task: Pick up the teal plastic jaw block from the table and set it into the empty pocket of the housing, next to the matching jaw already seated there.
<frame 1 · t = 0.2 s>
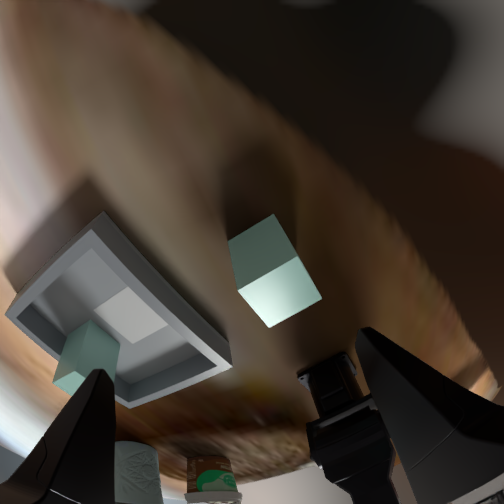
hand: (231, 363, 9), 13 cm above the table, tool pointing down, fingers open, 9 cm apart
grey green cylinder: (134, 448, 40), on the table
housing: (116, 322, 24), on the table
jaw block: (263, 246, 23), on the table
food container: (216, 458, 46), on the table
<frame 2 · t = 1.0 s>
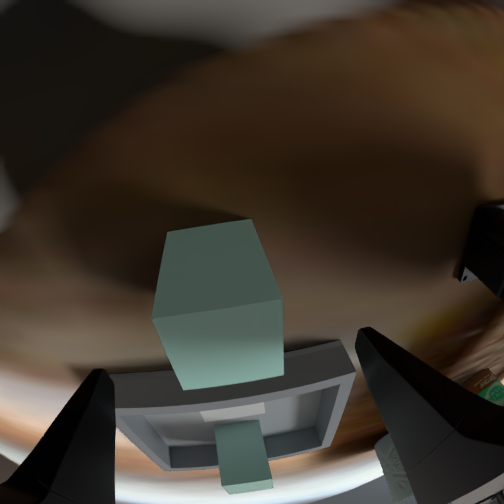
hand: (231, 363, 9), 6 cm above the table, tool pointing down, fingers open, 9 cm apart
grey green cylinder: (396, 434, 37), on the table
housing: (233, 411, 22), on the table
jaw block: (215, 260, 15), on the table
food container: (473, 378, 34), on the table
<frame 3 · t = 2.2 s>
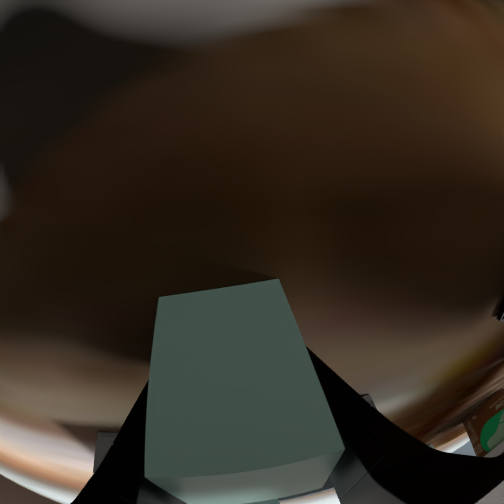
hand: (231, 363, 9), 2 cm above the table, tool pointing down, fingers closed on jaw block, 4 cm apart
housing: (243, 461, 18), on the table
jaw block: (226, 331, 11), on the table, touching gripper
food container: (488, 399, 29), on the table
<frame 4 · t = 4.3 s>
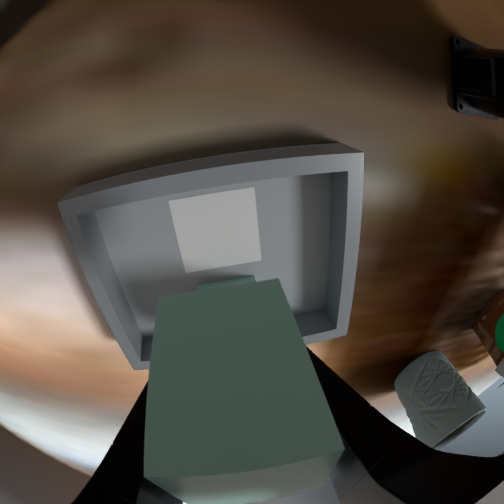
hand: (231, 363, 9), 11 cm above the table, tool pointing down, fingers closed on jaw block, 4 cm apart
grey green cylinder: (418, 370, 35), on the table
housing: (222, 258, 20), on the table
jaw block: (226, 330, 10), point 10 cm above the table, touching gripper
food container: (496, 300, 31), on the table
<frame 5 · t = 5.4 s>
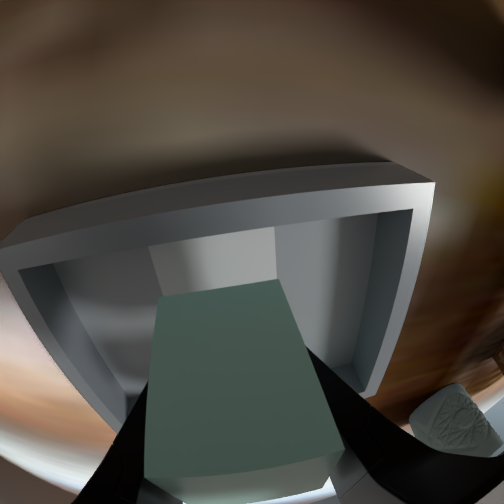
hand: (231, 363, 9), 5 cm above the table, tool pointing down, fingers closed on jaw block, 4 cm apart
grey green cylinder: (434, 402, 29), on the table
housing: (225, 315, 15), on the table
jaw block: (226, 331, 10), point 3 cm above the table, touching gripper
when the fingers open (3 cm above the table, at t = 6.4 s): jaw block drops 1 cm, resting on housing.
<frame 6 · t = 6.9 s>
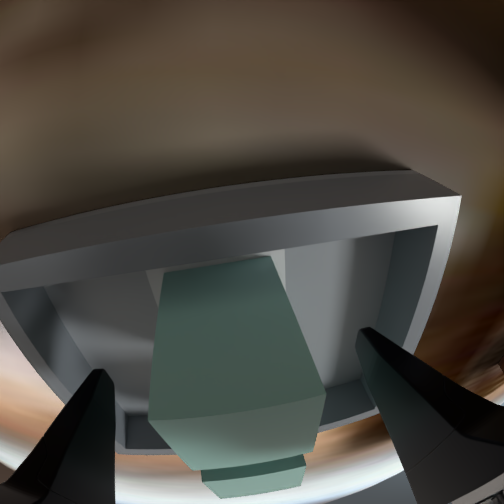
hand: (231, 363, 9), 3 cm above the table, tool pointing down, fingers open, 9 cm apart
housing: (229, 335, 13), on the table
jaw block: (224, 305, 12), point 1 cm above the table, touching housing
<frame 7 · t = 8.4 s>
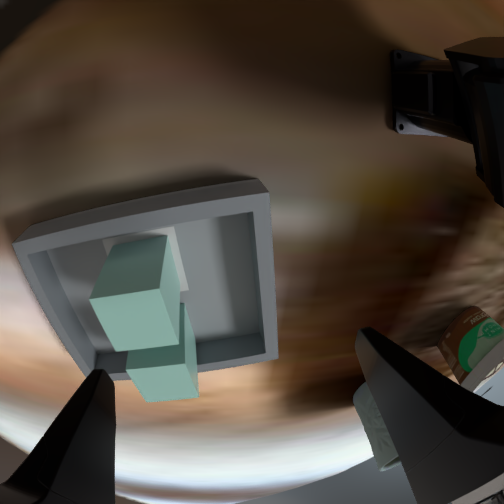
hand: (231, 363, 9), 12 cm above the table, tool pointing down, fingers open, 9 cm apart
grey green cylinder: (379, 386, 36), on the table
housing: (154, 287, 21), on the table
jaw block: (146, 265, 20), point 1 cm above the table, touching housing
food container: (462, 317, 33), on the table
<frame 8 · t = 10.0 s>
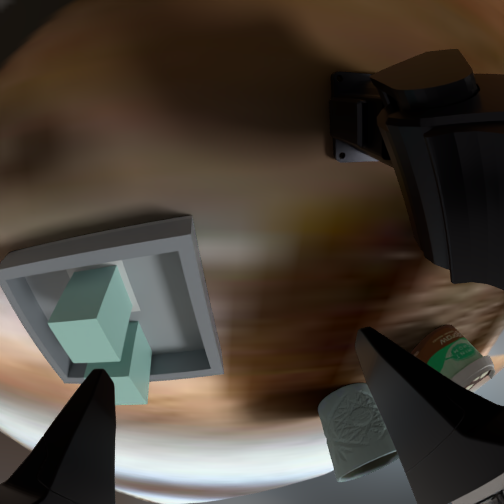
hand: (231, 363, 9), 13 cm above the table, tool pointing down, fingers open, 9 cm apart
grey green cylinder: (345, 398, 38), on the table
housing: (113, 306, 23), on the table
jaw block: (103, 289, 21), point 1 cm above the table, touching housing
food container: (434, 335, 34), on the table
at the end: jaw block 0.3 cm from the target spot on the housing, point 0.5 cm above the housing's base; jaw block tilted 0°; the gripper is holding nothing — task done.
